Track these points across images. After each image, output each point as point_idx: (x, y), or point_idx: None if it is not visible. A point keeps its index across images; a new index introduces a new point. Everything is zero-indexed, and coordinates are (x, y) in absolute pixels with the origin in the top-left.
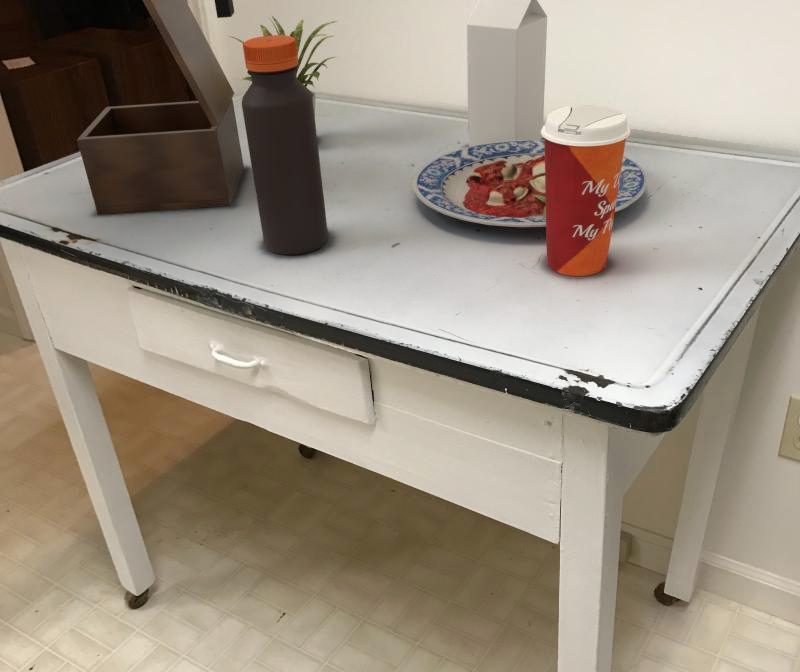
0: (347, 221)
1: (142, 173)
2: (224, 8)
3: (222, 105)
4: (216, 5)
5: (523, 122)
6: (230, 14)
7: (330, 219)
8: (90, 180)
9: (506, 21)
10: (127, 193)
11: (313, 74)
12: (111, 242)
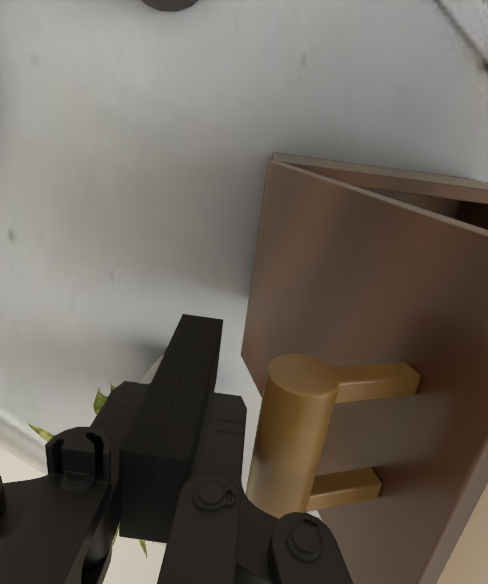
0: (93, 27)
1: (411, 174)
2: (193, 328)
3: (259, 252)
4: (215, 336)
5: None
6: (181, 317)
7: (119, 44)
8: None
9: None
10: (432, 175)
11: (103, 403)
12: (461, 48)
